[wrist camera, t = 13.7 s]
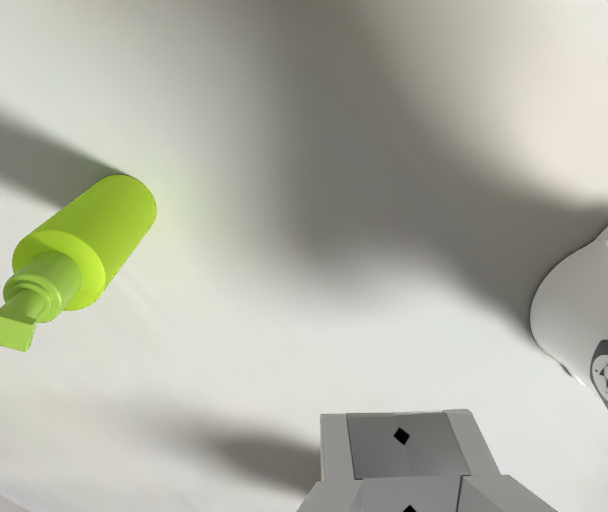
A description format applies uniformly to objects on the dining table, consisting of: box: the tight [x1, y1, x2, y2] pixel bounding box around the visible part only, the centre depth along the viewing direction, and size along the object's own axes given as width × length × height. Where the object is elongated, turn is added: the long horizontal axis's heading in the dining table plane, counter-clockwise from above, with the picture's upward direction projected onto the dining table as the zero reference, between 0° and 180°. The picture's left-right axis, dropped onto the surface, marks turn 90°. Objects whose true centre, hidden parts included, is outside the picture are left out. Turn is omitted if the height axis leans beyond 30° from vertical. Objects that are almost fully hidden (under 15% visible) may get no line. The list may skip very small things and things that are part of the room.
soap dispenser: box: [0, 175, 156, 352], centre depth 34 cm, size 6×7×20 cm
